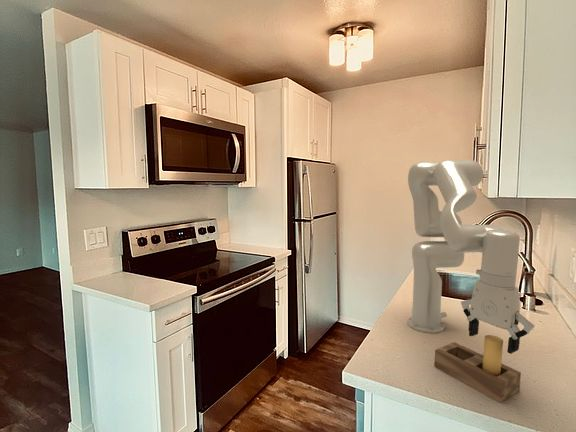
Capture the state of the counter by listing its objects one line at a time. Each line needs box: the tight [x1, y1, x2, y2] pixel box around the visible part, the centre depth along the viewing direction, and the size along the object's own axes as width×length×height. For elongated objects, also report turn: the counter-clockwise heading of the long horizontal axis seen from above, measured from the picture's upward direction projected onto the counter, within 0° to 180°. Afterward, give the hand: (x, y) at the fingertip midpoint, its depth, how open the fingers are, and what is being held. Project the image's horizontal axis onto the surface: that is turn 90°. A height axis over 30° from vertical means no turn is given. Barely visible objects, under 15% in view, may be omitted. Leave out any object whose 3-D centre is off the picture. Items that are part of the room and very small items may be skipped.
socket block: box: [433, 341, 522, 403], centre depth 89 cm, size 9×18×5 cm, turn 30°
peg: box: [482, 334, 504, 377], centre depth 85 cm, size 4×4×12 cm
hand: (491, 343), depth 85 cm, fingers open, 9 cm apart
